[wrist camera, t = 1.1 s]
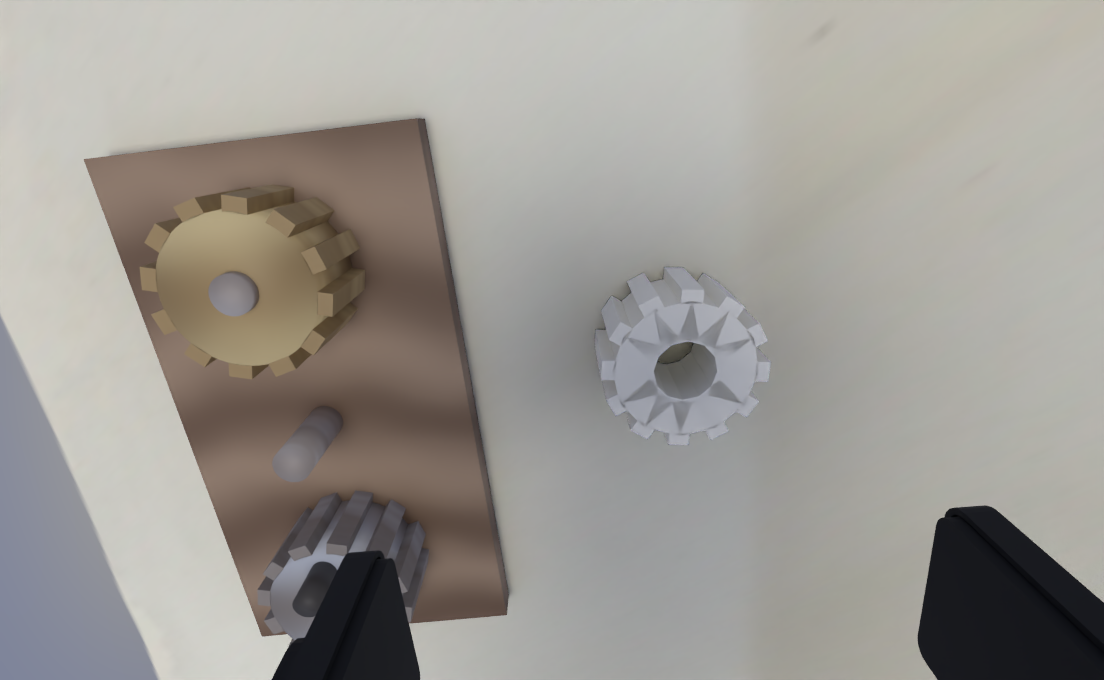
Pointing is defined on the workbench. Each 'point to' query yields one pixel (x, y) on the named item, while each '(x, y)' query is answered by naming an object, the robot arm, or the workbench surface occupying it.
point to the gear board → (315, 360)
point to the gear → (700, 377)
